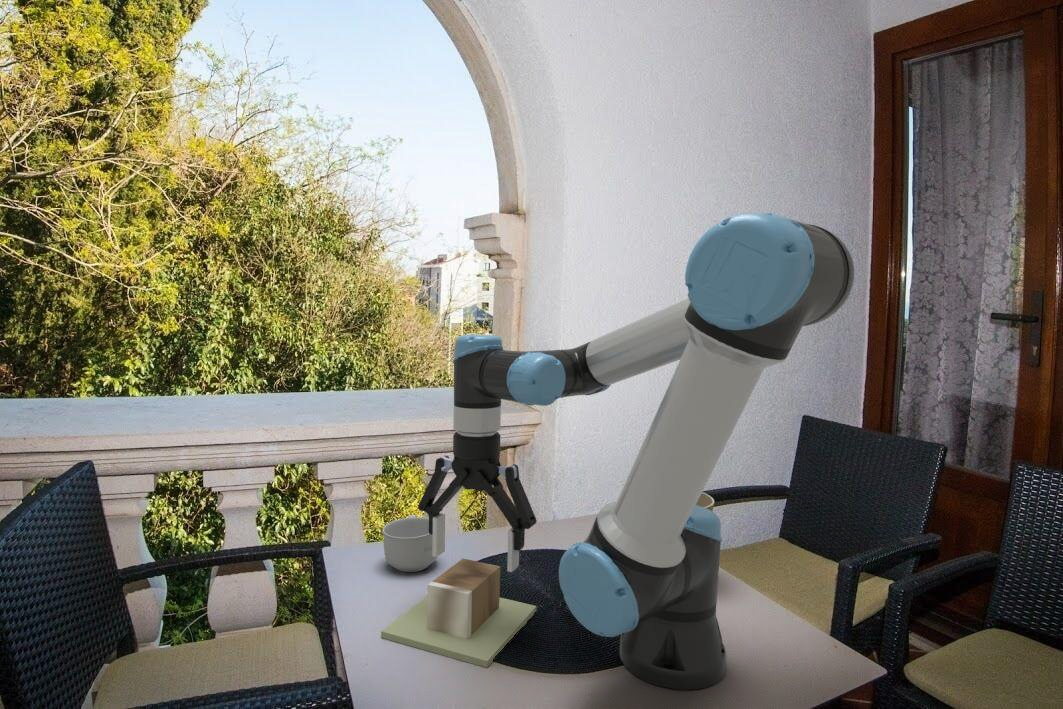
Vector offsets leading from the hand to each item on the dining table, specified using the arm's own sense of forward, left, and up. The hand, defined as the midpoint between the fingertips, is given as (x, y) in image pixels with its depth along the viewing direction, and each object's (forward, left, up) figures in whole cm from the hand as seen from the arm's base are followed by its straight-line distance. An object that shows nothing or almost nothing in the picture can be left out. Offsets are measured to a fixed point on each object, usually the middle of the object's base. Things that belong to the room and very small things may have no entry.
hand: (474, 561), depth 104 cm
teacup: (+24, +3, -10) cm, 26 cm away
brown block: (+2, -2, -5) cm, 5 cm away
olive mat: (-2, +3, -9) cm, 10 cm away
